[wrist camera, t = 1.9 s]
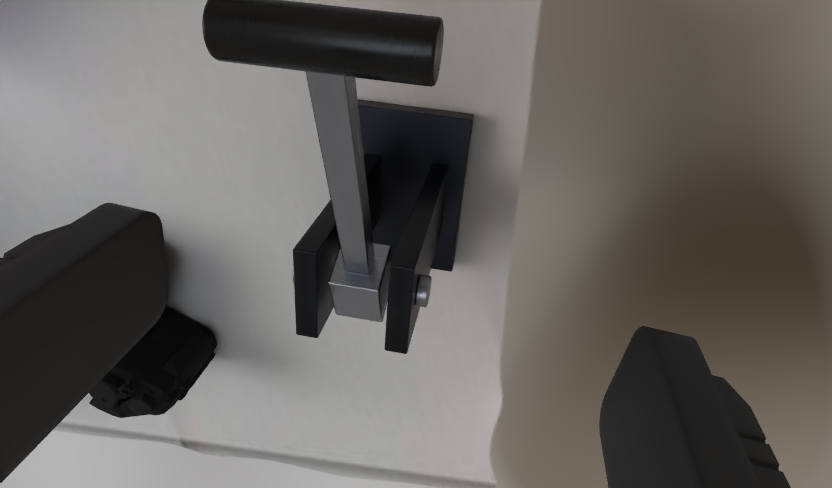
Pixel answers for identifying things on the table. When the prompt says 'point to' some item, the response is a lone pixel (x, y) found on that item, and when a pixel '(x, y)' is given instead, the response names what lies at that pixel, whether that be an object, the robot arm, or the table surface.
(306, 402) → the table surface
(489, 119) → the table surface
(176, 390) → the film camera
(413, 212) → the bracket
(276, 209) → the table surface
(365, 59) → the lever
